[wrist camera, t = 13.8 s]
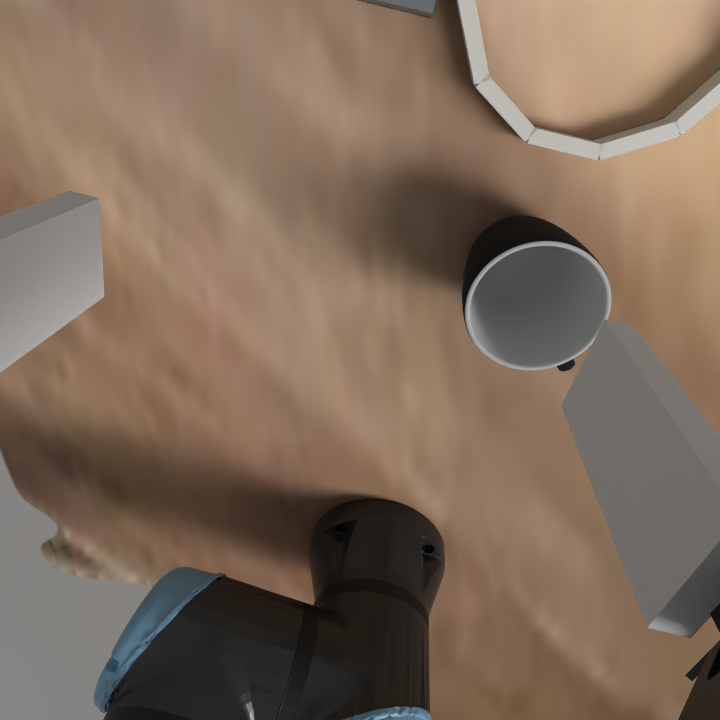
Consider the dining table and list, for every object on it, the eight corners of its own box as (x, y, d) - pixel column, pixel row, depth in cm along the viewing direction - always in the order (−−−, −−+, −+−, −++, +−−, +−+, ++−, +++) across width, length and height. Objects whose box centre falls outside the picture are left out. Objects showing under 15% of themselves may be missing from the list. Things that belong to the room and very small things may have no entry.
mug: (436, 238, 41) (438, 286, 33) (544, 176, 38) (579, 211, 30) (502, 354, 46) (519, 423, 37) (604, 307, 43) (650, 371, 34)
